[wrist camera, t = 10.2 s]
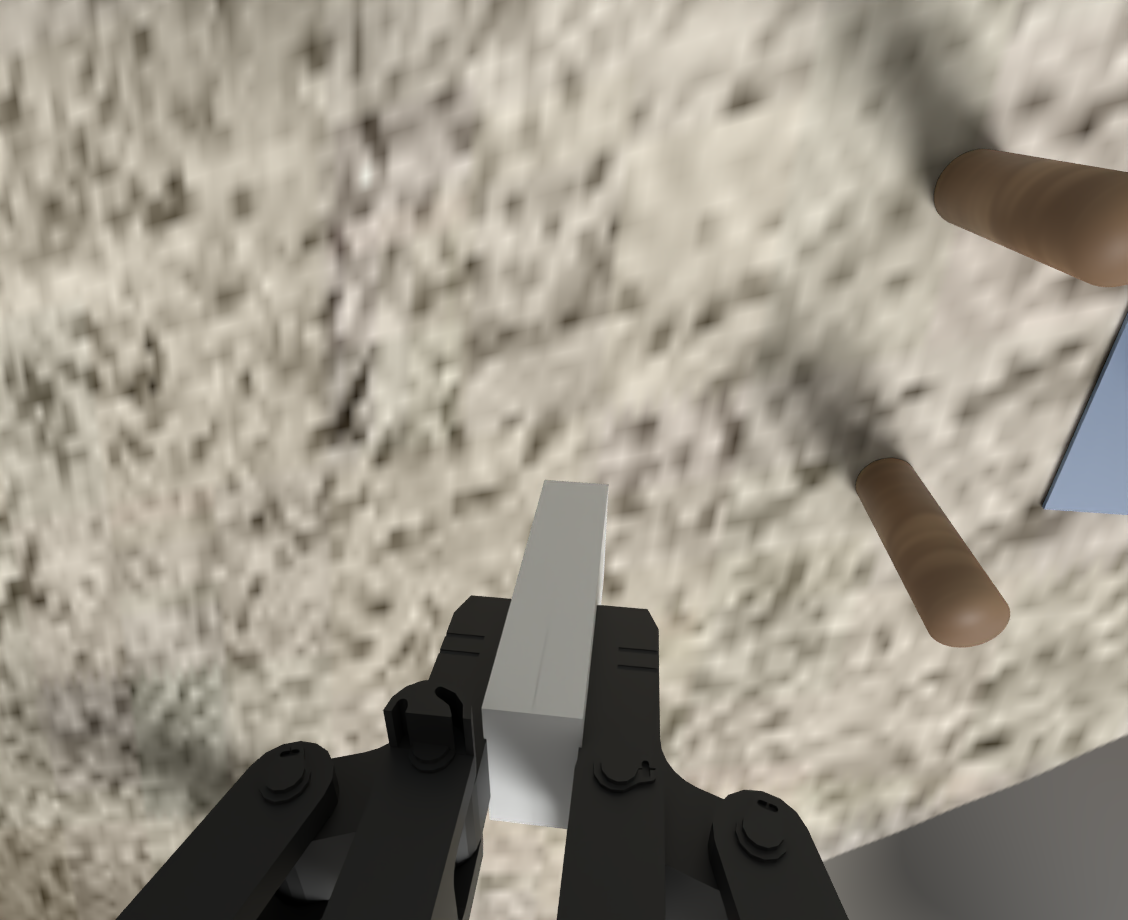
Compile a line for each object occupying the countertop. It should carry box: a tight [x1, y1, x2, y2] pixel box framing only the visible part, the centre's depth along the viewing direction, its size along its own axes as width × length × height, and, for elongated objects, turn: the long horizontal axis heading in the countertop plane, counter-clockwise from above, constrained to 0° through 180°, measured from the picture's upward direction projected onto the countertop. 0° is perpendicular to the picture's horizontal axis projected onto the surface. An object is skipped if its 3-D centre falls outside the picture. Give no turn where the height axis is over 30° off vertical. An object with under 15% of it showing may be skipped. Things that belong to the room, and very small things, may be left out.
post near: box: [934, 149, 1128, 287], centre depth 20 cm, size 3×3×9 cm
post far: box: [856, 458, 1010, 647], centre depth 26 cm, size 3×3×9 cm
